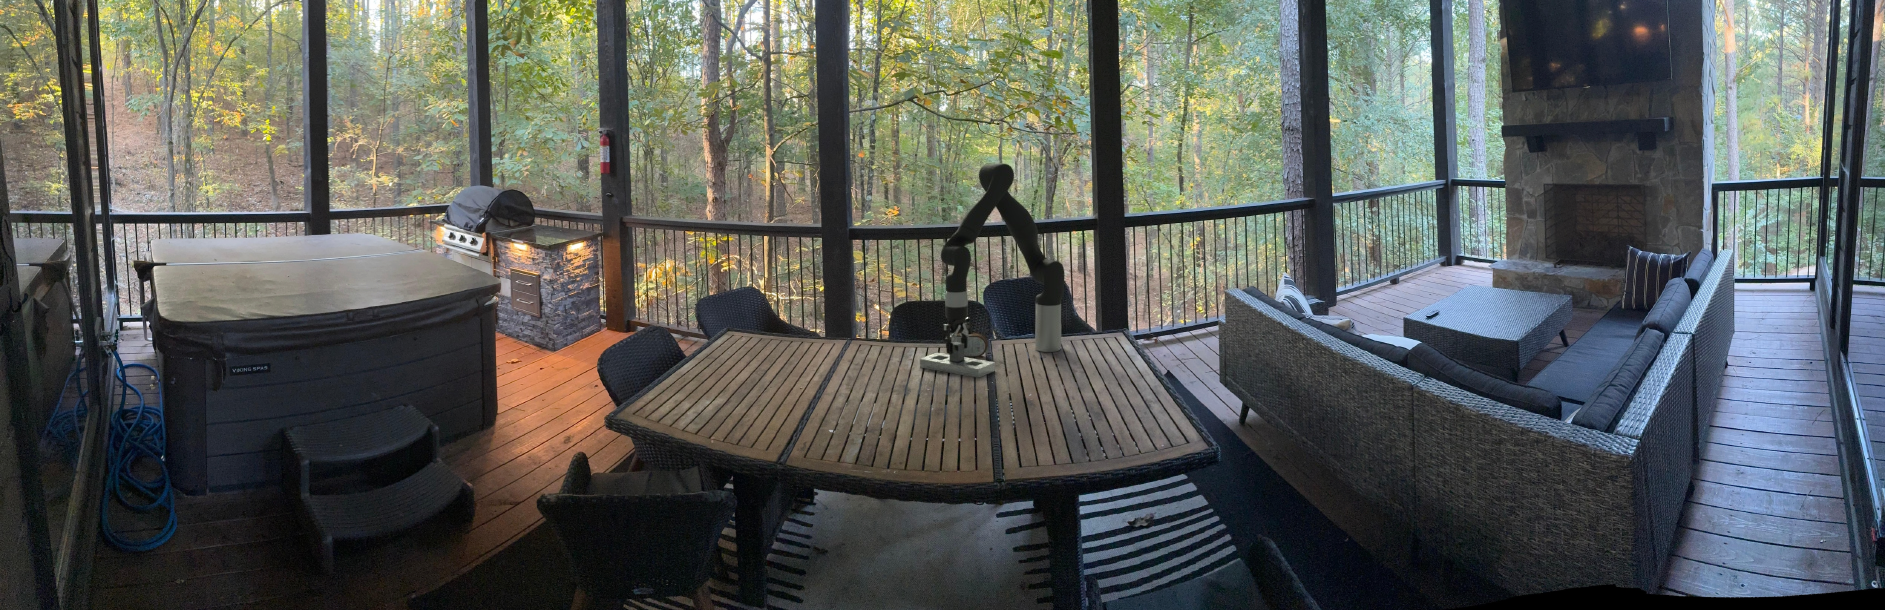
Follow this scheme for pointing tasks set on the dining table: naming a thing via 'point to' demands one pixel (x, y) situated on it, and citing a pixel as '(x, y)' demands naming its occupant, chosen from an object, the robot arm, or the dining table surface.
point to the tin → (973, 345)
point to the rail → (957, 365)
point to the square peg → (957, 352)
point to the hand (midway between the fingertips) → (957, 350)
